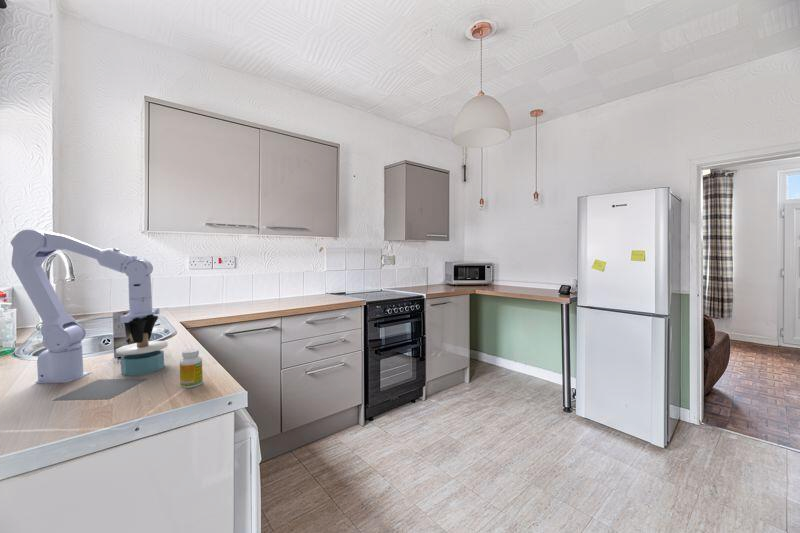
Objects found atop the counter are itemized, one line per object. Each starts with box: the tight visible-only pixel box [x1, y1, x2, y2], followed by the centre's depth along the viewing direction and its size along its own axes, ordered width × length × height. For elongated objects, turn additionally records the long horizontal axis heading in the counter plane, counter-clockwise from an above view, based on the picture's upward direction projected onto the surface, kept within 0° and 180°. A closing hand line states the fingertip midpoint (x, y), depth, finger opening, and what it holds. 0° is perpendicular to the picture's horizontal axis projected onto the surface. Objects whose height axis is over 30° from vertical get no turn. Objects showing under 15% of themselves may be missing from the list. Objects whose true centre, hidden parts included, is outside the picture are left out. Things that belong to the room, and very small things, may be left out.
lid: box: [116, 333, 169, 355], centre depth 109 cm, size 13×13×5 cm
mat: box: [53, 378, 148, 401], centre depth 94 cm, size 14×14×1 cm
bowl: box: [120, 349, 165, 376], centre depth 110 cm, size 11×11×5 cm
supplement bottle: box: [179, 348, 204, 389], centre depth 98 cm, size 5×5×10 cm
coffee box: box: [112, 309, 151, 358], centre depth 127 cm, size 9×6×16 cm
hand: (142, 340), depth 109 cm, fingers closed on lid, 3 cm apart
